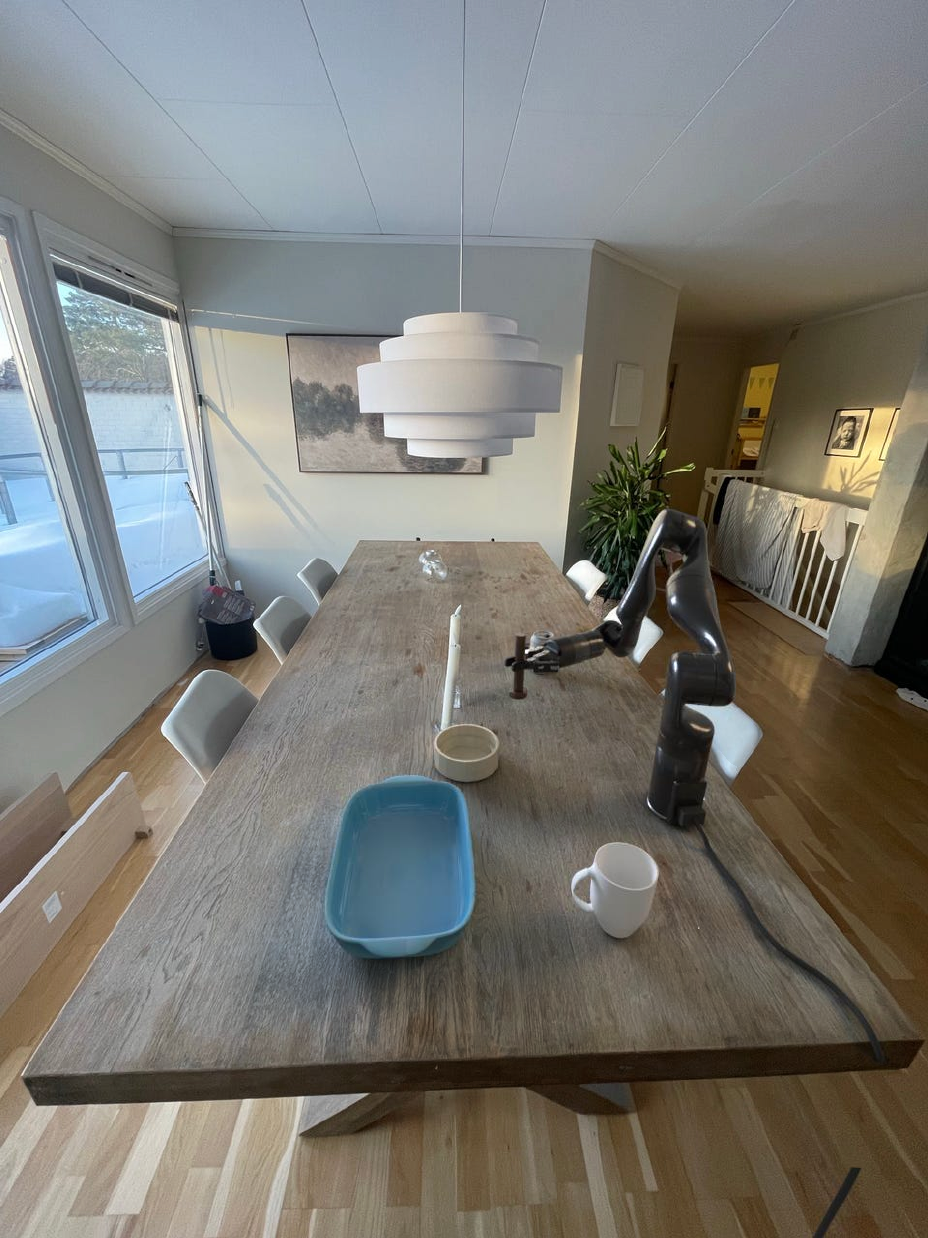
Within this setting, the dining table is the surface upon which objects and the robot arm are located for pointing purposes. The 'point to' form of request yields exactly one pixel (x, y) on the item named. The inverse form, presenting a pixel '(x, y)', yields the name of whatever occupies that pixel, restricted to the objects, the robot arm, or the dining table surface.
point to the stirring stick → (517, 689)
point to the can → (540, 639)
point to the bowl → (466, 752)
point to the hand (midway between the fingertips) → (509, 665)
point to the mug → (619, 887)
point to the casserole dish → (401, 870)
